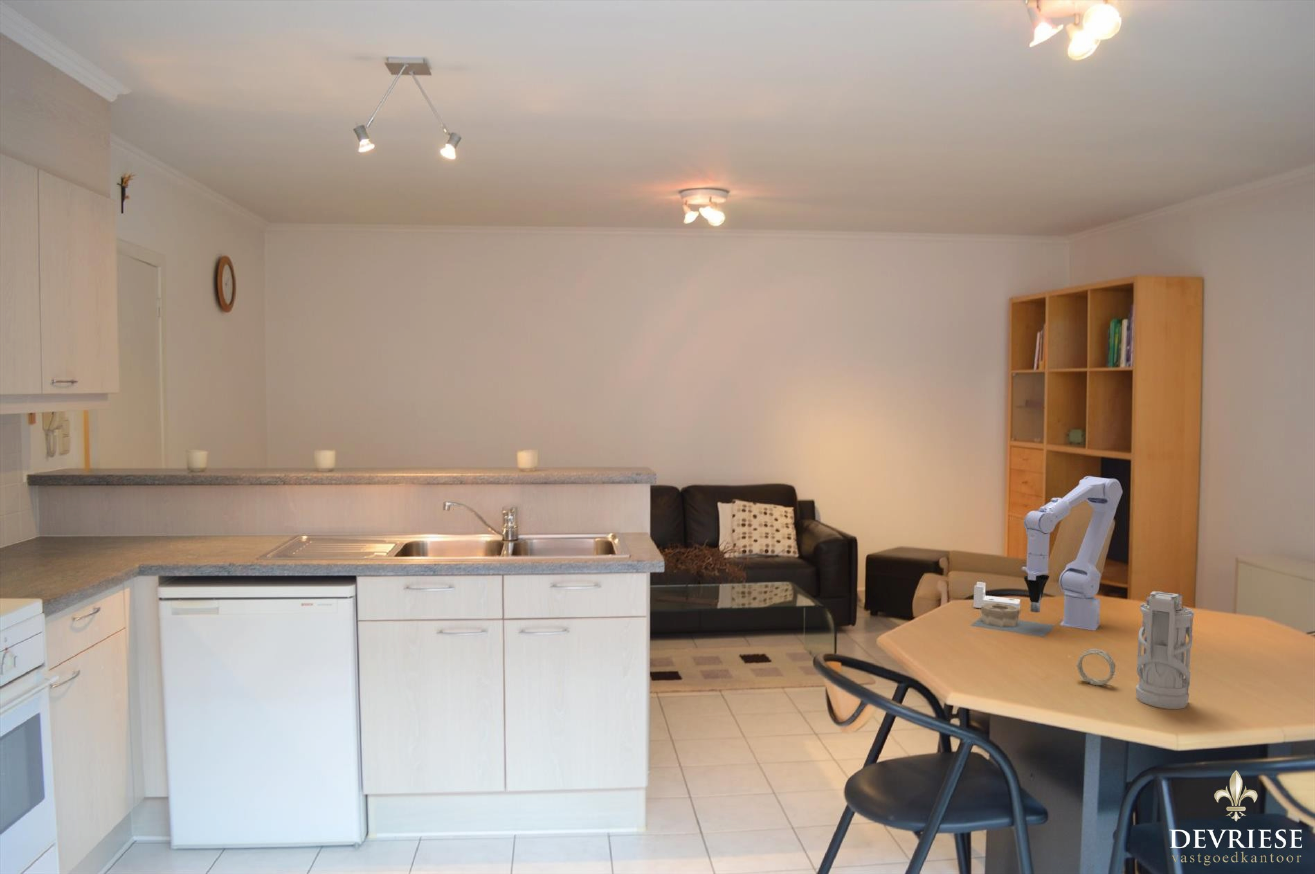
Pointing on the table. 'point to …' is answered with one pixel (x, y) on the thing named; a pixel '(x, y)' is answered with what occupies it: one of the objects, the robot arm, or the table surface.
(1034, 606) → the peg
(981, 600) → the bracket
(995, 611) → the ring
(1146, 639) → the lantern
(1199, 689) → the table surface
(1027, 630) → the mat
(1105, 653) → the bracelet
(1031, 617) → the table surface
